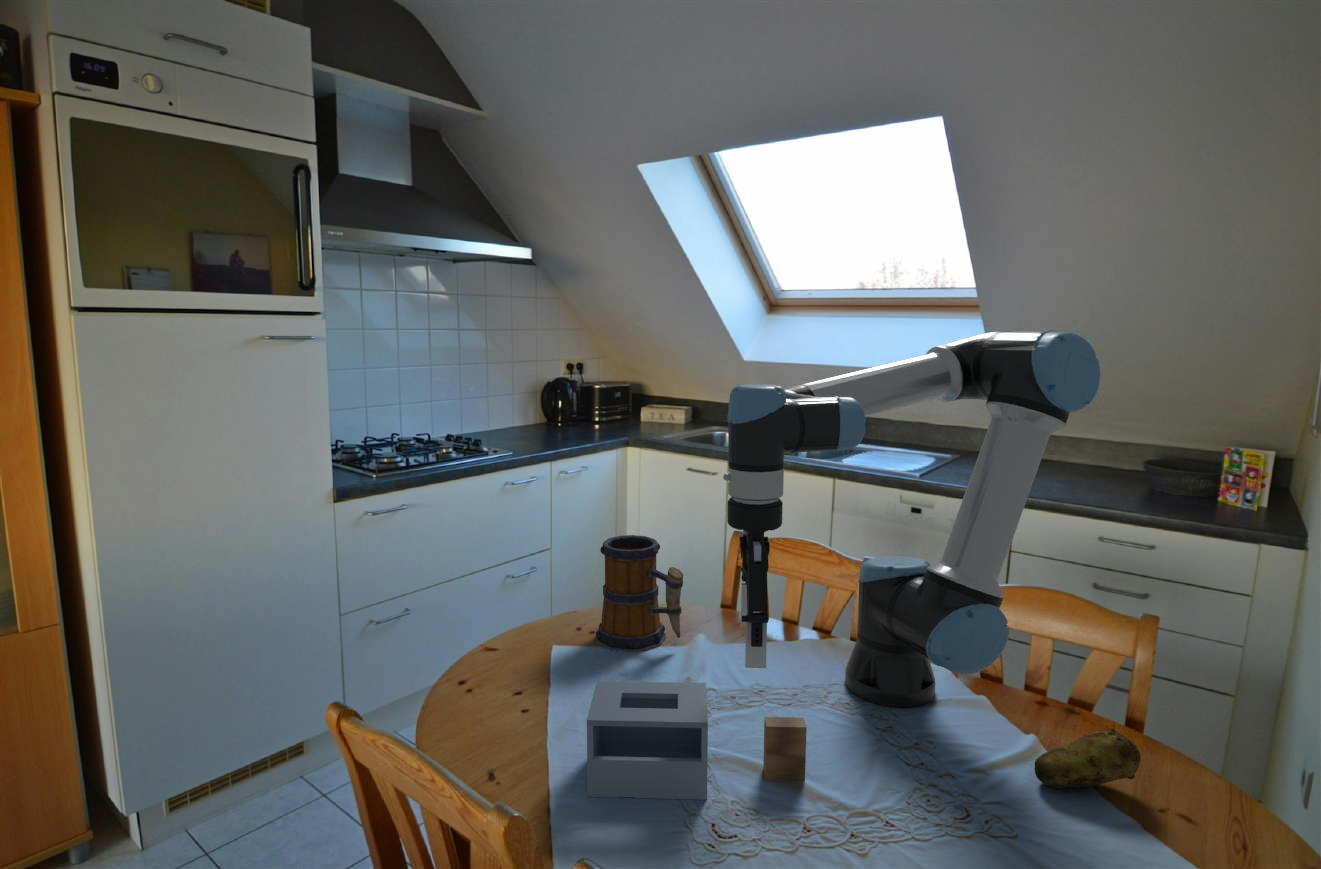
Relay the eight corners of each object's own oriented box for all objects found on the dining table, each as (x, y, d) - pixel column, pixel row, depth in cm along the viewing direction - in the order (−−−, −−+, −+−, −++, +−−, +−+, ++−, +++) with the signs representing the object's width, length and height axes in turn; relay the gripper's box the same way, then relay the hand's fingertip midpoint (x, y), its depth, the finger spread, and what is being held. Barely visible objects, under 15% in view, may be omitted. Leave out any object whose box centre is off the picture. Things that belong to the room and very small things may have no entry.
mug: (699, 638, 150) (700, 543, 147) (662, 664, 138) (662, 561, 135) (622, 618, 160) (621, 529, 158) (580, 641, 148) (579, 545, 146)
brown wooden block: (802, 769, 105) (803, 717, 104) (804, 780, 103) (806, 727, 101) (763, 769, 105) (764, 716, 104) (765, 780, 103) (766, 726, 102)
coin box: (704, 752, 109) (705, 682, 108) (706, 799, 98) (707, 722, 97) (597, 750, 110) (596, 680, 108) (587, 796, 99) (586, 719, 97)
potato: (1028, 760, 108) (1032, 708, 107) (1130, 779, 103) (1135, 725, 102) (1035, 793, 100) (1039, 738, 99) (1145, 815, 95) (1151, 758, 94)
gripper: (725, 479, 114) (724, 610, 117) (729, 520, 89) (728, 686, 92) (774, 479, 113) (772, 611, 116) (792, 521, 88) (788, 687, 91)
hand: (752, 645), depth 104 cm, fingers open, 13 cm apart
